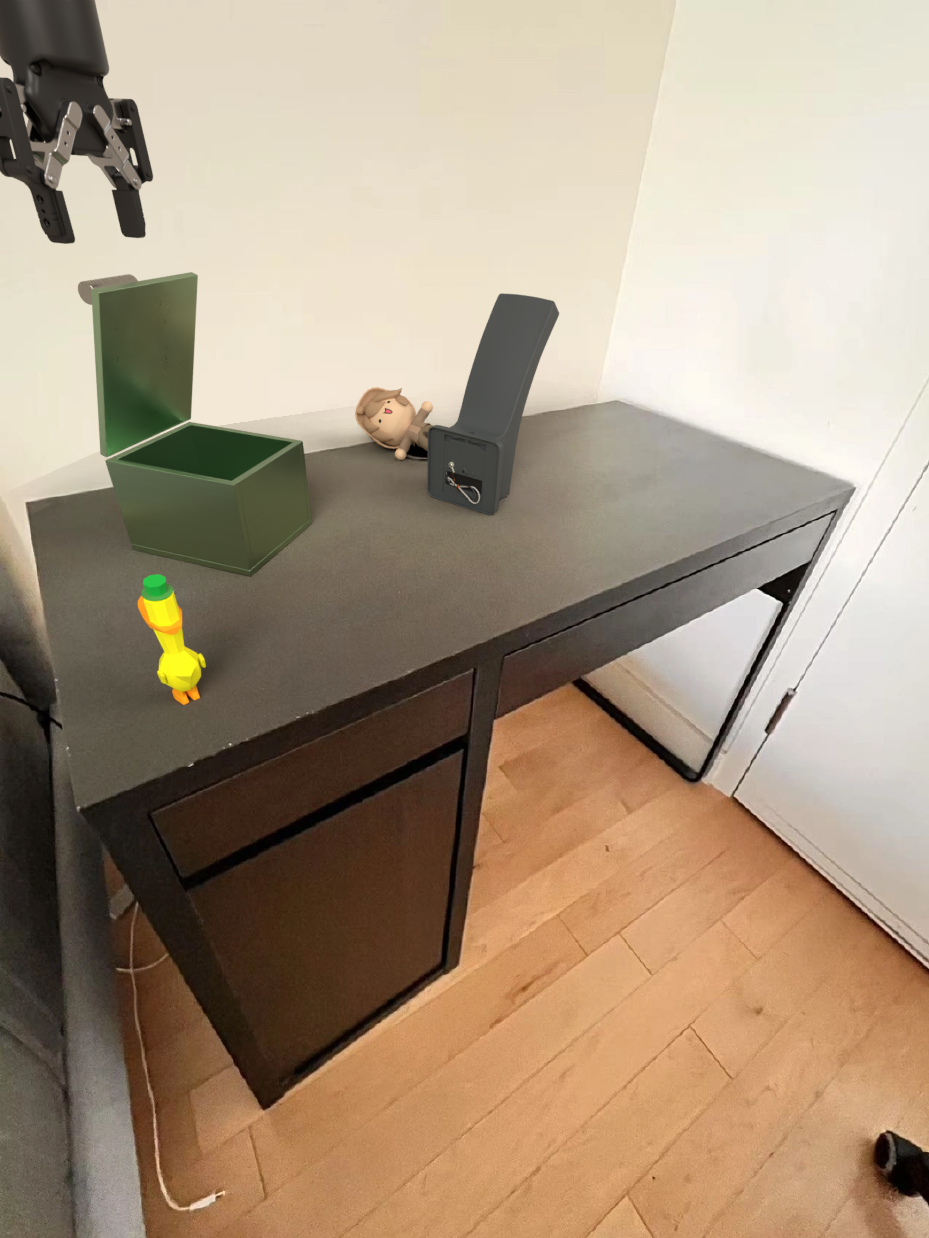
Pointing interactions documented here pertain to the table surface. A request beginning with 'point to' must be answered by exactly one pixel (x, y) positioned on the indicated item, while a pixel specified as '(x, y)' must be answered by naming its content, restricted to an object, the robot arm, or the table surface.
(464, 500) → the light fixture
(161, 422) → the bin lid
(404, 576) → the table surface
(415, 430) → the action figure
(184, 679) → the toy figure
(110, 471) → the bin
